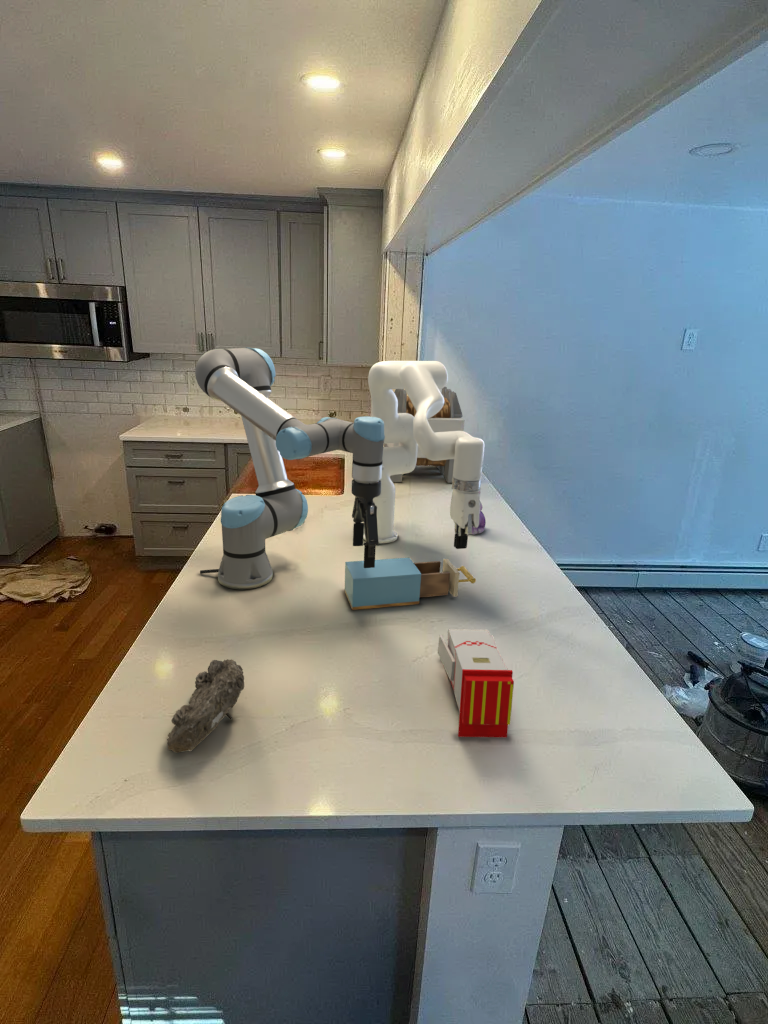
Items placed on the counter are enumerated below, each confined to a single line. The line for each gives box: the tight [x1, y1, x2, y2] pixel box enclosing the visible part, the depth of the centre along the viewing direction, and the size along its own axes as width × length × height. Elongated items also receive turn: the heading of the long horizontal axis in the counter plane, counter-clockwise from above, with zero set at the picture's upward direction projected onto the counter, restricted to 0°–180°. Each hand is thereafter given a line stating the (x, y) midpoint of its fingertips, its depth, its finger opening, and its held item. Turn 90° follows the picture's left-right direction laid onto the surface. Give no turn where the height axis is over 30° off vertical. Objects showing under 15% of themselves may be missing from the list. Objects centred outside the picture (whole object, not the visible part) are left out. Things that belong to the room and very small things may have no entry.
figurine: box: [471, 490, 487, 535], centre depth 203 cm, size 9×10×15 cm
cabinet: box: [344, 557, 421, 611], centre depth 154 cm, size 18×11×9 cm, turn 105°
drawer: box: [413, 558, 477, 598], centre depth 158 cm, size 23×9×7 cm, turn 105°
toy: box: [437, 628, 515, 738], centre depth 117 cm, size 12×13×30 cm
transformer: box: [384, 386, 465, 484], centre depth 268 cm, size 34×33×41 cm
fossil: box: [166, 658, 245, 754], centre depth 106 cm, size 22×10×15 cm
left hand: (363, 556), depth 150 cm, fingers open, 13 cm apart
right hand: (460, 547), depth 156 cm, fingers closed
